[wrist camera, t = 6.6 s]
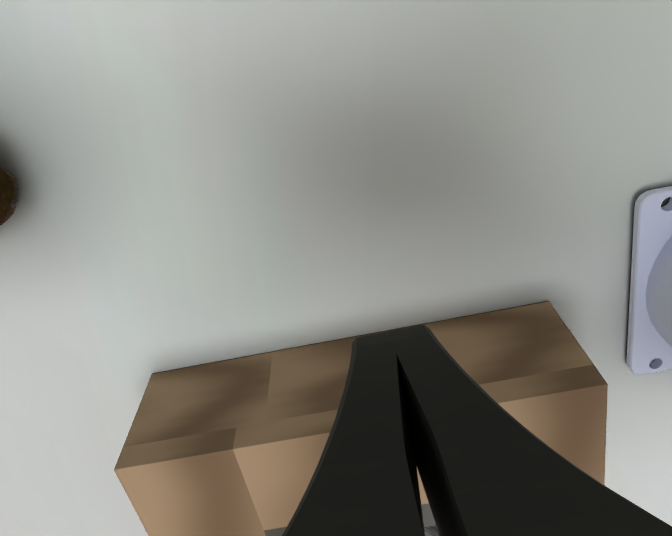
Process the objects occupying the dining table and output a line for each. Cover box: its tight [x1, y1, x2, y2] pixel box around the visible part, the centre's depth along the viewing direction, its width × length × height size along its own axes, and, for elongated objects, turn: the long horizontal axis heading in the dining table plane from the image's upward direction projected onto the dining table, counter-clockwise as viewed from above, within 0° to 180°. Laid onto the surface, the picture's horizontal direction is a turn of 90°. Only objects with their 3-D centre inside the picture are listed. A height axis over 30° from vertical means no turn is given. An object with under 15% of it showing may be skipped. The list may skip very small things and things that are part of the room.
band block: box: [114, 301, 608, 536], centre depth 24 cm, size 16×16×5 cm
